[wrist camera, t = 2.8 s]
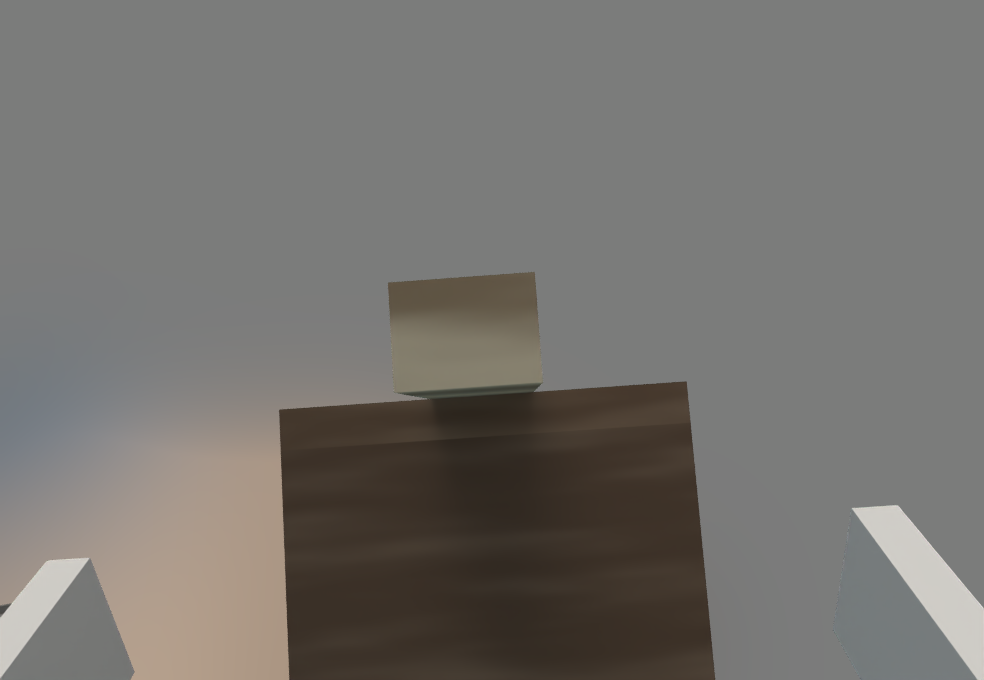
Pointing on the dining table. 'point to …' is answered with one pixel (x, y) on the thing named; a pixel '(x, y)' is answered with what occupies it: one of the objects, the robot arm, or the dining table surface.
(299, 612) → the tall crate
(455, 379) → the pine slat
